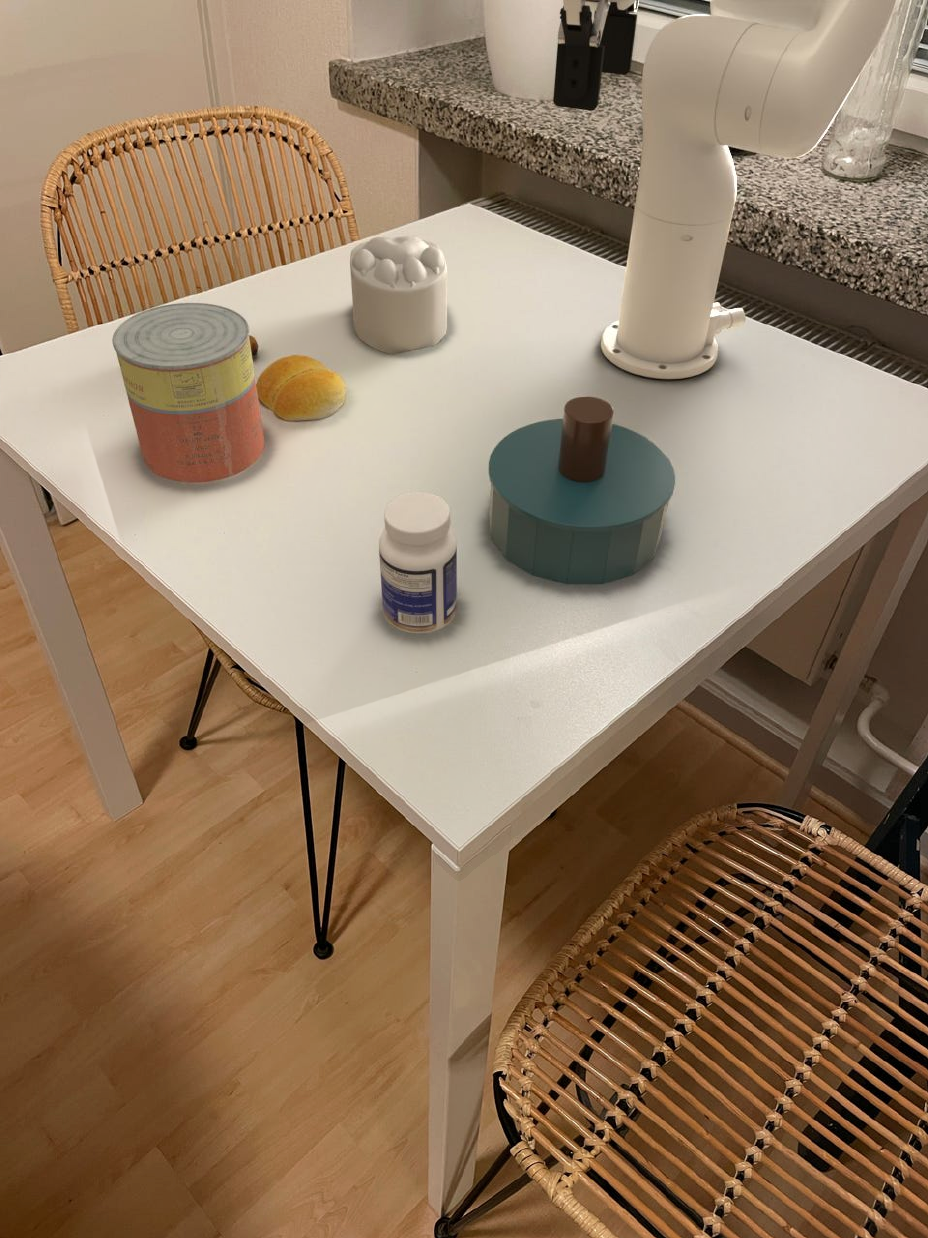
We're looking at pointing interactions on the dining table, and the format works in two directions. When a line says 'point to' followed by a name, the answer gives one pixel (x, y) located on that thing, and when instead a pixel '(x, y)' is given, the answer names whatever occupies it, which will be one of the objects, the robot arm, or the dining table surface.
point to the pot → (572, 547)
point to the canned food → (191, 390)
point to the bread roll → (301, 389)
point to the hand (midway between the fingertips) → (593, 88)
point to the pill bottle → (418, 563)
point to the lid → (582, 471)
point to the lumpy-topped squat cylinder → (399, 293)
